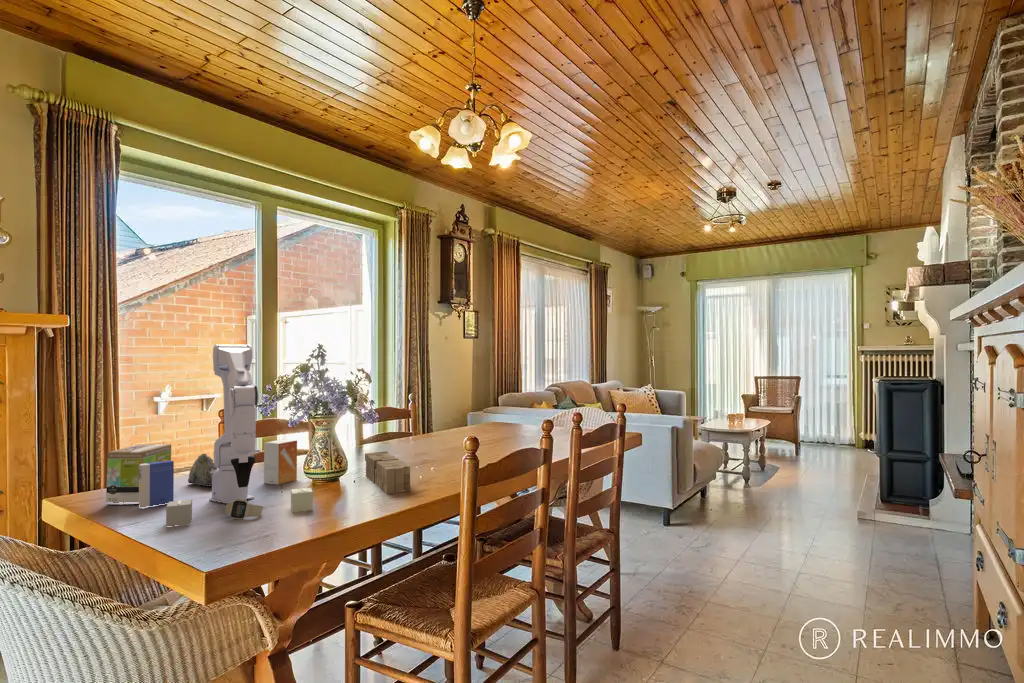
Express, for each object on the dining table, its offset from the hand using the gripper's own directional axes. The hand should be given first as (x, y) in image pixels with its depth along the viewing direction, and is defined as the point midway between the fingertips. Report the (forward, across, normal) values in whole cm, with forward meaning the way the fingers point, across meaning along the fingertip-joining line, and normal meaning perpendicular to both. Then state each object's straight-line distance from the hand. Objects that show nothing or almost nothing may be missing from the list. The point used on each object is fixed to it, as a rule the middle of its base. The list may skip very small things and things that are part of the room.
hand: (243, 486), depth 145 cm
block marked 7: (+8, 0, -14) cm, 16 cm away
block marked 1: (+8, 0, +14) cm, 16 cm away
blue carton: (+8, +22, +21) cm, 31 cm away
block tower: (+8, +21, -41) cm, 47 cm away
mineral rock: (+8, +43, +11) cm, 45 cm away
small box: (+8, +38, -11) cm, 41 cm away
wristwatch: (+8, 0, 0) cm, 8 cm away
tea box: (+8, +33, +27) cm, 43 cm away
